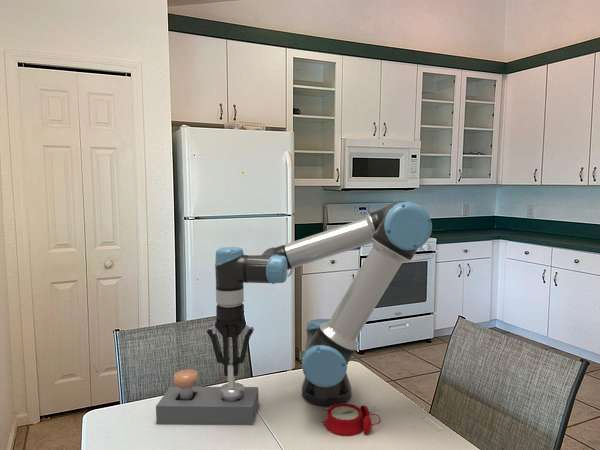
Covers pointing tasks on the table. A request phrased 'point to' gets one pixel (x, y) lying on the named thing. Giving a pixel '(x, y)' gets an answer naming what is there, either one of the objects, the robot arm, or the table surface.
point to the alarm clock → (348, 419)
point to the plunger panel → (207, 407)
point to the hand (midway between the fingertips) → (231, 386)
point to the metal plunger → (232, 392)
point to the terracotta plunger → (186, 383)
